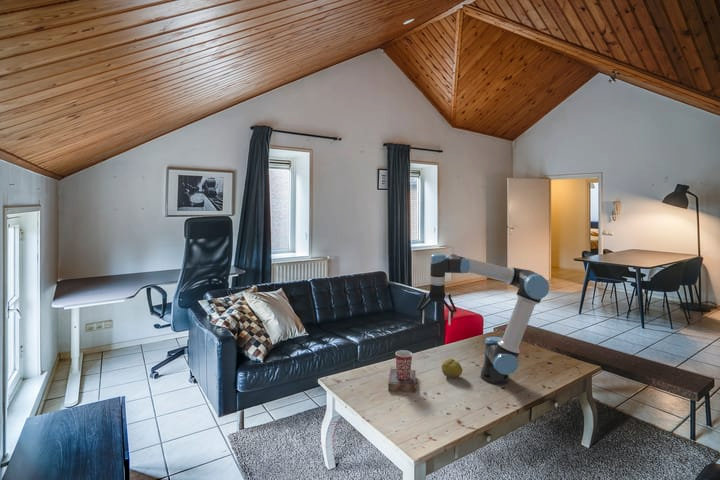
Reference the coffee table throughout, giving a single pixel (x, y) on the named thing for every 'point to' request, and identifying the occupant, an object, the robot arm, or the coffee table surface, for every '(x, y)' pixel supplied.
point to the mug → (403, 364)
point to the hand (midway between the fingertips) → (436, 323)
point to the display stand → (402, 382)
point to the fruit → (451, 368)
